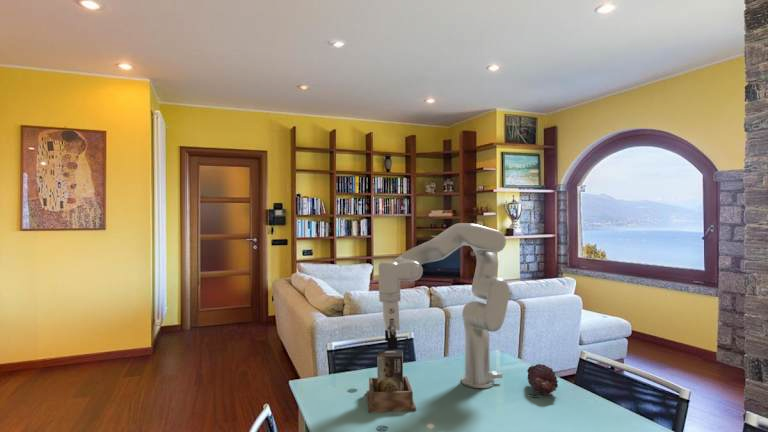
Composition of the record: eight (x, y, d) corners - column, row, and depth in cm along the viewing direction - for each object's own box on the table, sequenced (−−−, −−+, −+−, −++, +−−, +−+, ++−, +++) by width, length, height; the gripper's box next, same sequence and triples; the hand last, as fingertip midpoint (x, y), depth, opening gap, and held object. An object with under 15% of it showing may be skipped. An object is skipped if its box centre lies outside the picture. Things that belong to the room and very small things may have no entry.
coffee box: (403, 395, 152) (403, 350, 152) (403, 402, 145) (403, 356, 145) (378, 394, 152) (378, 349, 152) (377, 402, 146) (376, 355, 146)
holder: (409, 391, 157) (409, 375, 157) (416, 410, 141) (416, 393, 141) (366, 393, 156) (366, 376, 156) (368, 412, 140) (368, 394, 140)
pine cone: (519, 383, 165) (519, 357, 165) (544, 382, 166) (544, 356, 166) (539, 402, 147) (538, 374, 147) (566, 401, 148) (566, 373, 148)
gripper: (403, 301, 141) (404, 352, 141) (397, 291, 158) (398, 337, 158) (381, 302, 140) (382, 353, 140) (377, 292, 157) (378, 338, 157)
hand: (391, 344), depth 149 cm, fingers open, 9 cm apart
